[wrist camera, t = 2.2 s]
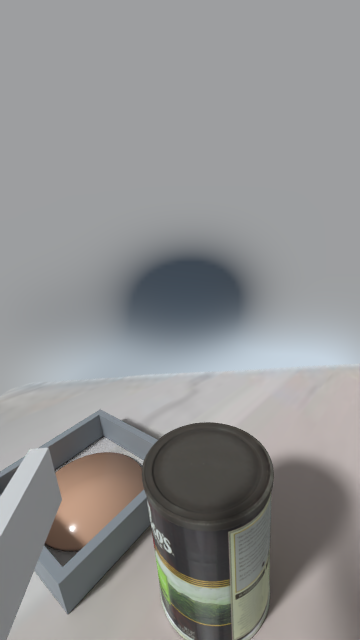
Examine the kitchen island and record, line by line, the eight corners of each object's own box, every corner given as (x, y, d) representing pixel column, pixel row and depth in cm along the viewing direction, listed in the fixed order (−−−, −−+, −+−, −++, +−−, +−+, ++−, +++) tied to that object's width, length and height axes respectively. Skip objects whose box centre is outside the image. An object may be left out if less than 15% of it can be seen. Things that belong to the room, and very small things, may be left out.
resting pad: (101, 441, 50) (101, 439, 50) (169, 483, 41) (168, 481, 41) (11, 506, 40) (10, 504, 40) (74, 580, 31) (73, 577, 31)
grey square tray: (104, 430, 52) (100, 409, 51) (190, 480, 41) (188, 455, 40) (-12, 509, 40) (-22, 484, 38) (67, 614, 28) (58, 584, 27)
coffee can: (170, 672, 24) (148, 541, 20) (153, 543, 34) (136, 434, 29) (294, 631, 26) (301, 501, 21) (244, 519, 36) (242, 412, 31)
